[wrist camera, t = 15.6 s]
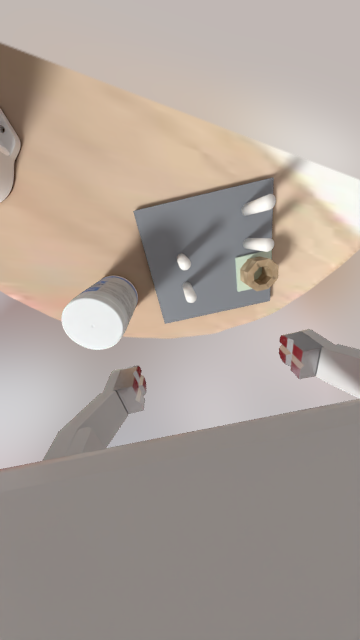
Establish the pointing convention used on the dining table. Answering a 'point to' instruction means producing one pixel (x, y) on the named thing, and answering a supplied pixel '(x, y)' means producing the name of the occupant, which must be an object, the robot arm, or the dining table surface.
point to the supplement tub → (100, 313)
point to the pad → (240, 263)
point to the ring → (265, 278)
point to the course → (206, 248)
